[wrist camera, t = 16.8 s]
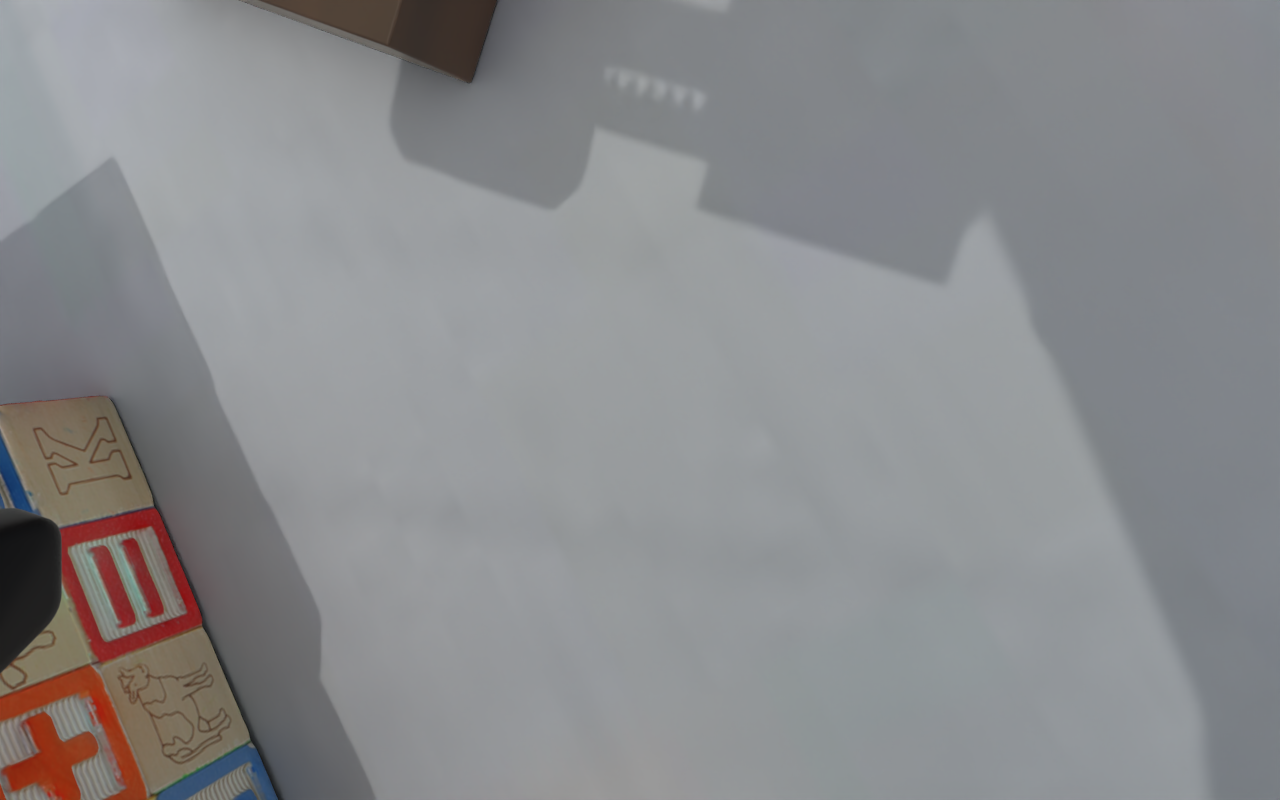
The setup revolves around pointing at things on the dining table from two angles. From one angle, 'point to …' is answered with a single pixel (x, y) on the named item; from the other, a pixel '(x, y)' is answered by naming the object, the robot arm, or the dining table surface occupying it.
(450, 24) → the walnut block
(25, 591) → the robot arm
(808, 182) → the dining table surface
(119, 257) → the dining table surface
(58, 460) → the stack of blocks
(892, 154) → the dining table surface
